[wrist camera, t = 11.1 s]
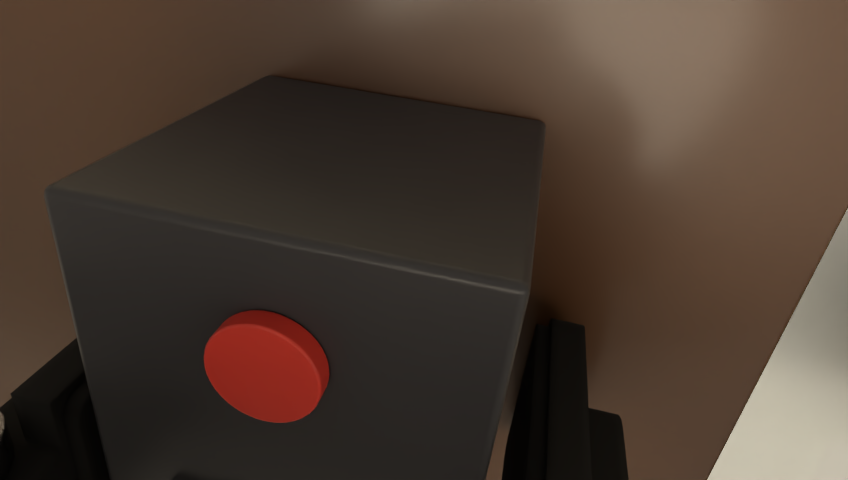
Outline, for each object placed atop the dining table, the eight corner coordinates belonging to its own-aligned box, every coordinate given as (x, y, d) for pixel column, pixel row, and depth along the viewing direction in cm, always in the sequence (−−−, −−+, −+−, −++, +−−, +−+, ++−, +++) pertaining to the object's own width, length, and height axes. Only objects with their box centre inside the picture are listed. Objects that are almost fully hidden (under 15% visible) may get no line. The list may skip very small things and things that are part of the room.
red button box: (275, 476, 13) (148, 717, 9) (265, 72, 9) (12, 197, 5) (459, 524, 13) (410, 803, 9) (547, 120, 8) (530, 305, 4)
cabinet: (133, 303, 22) (-46, 462, 16) (57, -156, 15) (-330, -217, 9) (602, 411, 20) (620, 648, 13) (774, -70, 13) (991, -63, 6)
